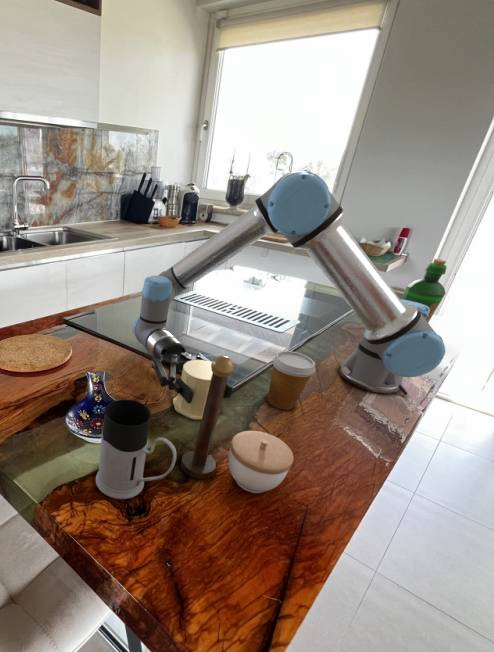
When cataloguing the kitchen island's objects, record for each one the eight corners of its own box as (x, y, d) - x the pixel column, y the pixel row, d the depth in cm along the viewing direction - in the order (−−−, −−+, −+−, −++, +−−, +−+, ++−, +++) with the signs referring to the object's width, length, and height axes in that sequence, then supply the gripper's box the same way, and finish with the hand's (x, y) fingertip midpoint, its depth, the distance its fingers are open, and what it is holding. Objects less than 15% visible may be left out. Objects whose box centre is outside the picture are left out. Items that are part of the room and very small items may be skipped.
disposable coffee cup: (303, 416, 97) (321, 372, 91) (262, 409, 98) (276, 365, 92) (297, 396, 105) (312, 354, 99) (259, 389, 106) (272, 347, 100)
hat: (226, 408, 97) (236, 371, 92) (202, 425, 91) (211, 386, 85) (190, 389, 103) (197, 354, 98) (164, 405, 96) (171, 367, 91)
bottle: (424, 350, 137) (469, 266, 123) (393, 348, 137) (434, 263, 122) (406, 337, 146) (445, 257, 132) (376, 335, 146) (413, 254, 131)
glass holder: (116, 457, 79) (124, 391, 72) (178, 496, 72) (194, 427, 64) (85, 480, 73) (89, 411, 66) (149, 525, 66) (162, 454, 58)
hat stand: (220, 468, 79) (252, 358, 67) (202, 484, 75) (232, 370, 63) (193, 451, 83) (217, 344, 70) (174, 466, 79) (197, 355, 66)
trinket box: (272, 512, 71) (289, 471, 66) (214, 485, 75) (225, 445, 70) (286, 476, 79) (302, 438, 74) (233, 454, 83) (244, 416, 78)
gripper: (200, 358, 113) (248, 403, 96) (125, 366, 106) (163, 416, 89) (205, 333, 110) (256, 375, 92) (128, 339, 102) (168, 386, 85)
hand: (210, 395), depth 90 cm, fingers closed on hat, 9 cm apart
